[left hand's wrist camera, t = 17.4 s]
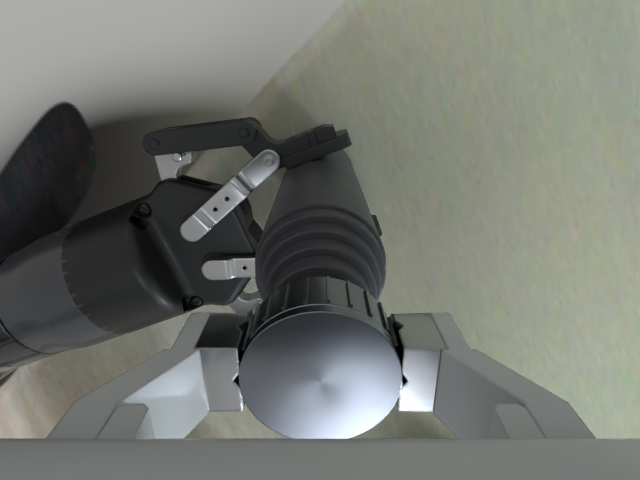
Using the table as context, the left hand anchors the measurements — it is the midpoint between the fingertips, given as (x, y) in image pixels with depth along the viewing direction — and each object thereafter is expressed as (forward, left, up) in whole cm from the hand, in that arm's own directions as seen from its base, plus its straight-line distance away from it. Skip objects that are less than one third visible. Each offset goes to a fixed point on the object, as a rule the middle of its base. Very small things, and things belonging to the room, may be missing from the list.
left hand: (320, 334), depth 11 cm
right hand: (-2, +1, -13) cm, 14 cm away
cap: (0, 0, +2) cm, 2 cm away
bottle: (0, 0, -20) cm, 20 cm away
